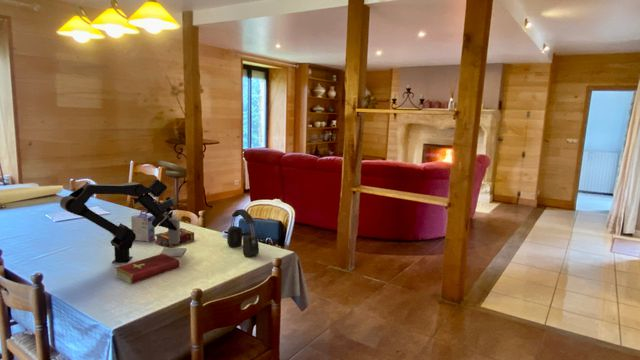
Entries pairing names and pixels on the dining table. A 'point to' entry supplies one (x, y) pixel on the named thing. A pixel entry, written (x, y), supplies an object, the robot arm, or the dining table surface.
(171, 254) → the plate
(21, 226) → the dining table surface
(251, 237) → the headphones
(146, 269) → the hardcover book
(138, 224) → the ink cartridge box
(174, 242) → the grey tall piece
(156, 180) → the robot arm
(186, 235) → the decorative book
